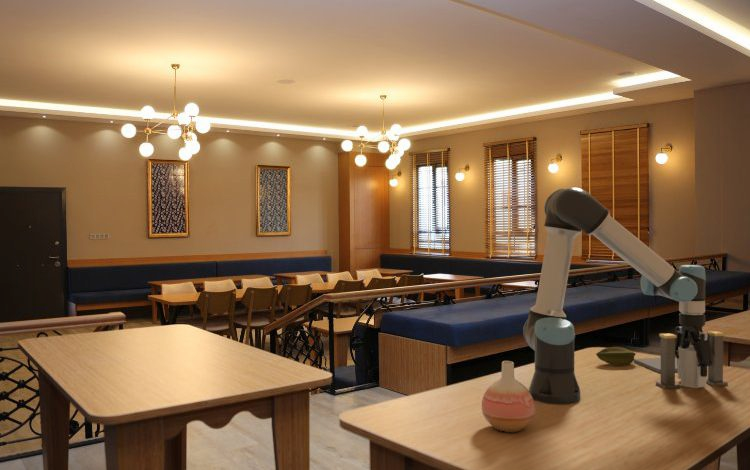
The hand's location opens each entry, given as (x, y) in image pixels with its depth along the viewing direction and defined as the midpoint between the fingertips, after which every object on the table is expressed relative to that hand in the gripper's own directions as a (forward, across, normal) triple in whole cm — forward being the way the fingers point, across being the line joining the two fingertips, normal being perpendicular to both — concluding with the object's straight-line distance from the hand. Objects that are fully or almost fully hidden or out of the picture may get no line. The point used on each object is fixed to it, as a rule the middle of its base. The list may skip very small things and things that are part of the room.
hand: (691, 382), depth 203 cm
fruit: (+1, +30, +9) cm, 32 cm away
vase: (+1, -28, +73) cm, 78 cm away
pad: (+1, +24, -7) cm, 25 cm away
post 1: (+1, 0, +8) cm, 9 cm away
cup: (+1, 0, 0) cm, 1 cm away
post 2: (+1, 0, -8) cm, 9 cm away
